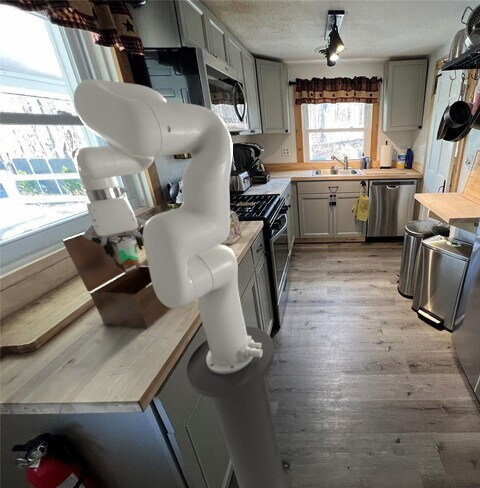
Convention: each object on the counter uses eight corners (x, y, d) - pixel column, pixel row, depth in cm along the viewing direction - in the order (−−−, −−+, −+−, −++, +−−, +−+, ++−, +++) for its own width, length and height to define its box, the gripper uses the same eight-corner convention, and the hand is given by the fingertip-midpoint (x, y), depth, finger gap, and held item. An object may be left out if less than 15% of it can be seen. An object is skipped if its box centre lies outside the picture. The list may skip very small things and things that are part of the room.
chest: (185, 295, 95) (176, 266, 90) (147, 328, 79) (134, 295, 74) (148, 293, 97) (137, 265, 93) (104, 324, 81) (89, 292, 77)
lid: (121, 220, 86) (119, 220, 86) (64, 240, 70) (62, 240, 70) (138, 264, 92) (136, 264, 92) (89, 291, 76) (87, 291, 77)
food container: (151, 267, 80) (141, 237, 77) (128, 275, 76) (116, 244, 72) (136, 258, 87) (126, 230, 84) (114, 265, 83) (103, 236, 79)
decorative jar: (242, 236, 150) (236, 206, 143) (233, 244, 139) (227, 211, 132) (222, 236, 151) (216, 206, 144) (212, 244, 140) (205, 212, 133)
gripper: (139, 188, 80) (156, 241, 87) (64, 198, 70) (90, 257, 77) (142, 191, 75) (160, 247, 82) (62, 202, 65) (90, 265, 72)
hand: (126, 251), depth 80 cm, fingers closed on food container, 6 cm apart
